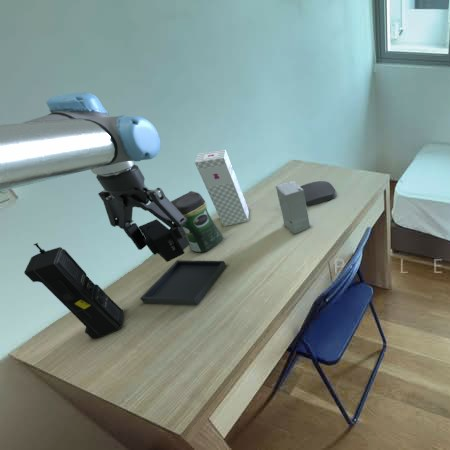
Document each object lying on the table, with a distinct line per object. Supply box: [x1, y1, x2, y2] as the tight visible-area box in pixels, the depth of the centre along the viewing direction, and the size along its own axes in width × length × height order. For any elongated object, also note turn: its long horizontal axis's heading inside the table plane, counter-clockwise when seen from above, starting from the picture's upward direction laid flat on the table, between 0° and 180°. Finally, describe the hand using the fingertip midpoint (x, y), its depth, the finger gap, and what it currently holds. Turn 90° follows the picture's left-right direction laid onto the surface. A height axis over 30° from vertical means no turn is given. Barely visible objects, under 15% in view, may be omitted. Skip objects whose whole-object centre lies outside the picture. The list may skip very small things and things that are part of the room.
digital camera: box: [138, 218, 185, 263], centre depth 79 cm, size 10×5×7 cm, turn 53°
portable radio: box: [24, 242, 124, 340], centre depth 70 cm, size 8×6×25 cm
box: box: [194, 148, 250, 227], centre depth 109 cm, size 8×8×25 cm
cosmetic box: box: [275, 180, 311, 235], centre depth 106 cm, size 8×7×16 cm
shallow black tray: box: [139, 259, 227, 306], centre depth 88 cm, size 15×15×2 cm
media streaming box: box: [299, 180, 337, 206], centre depth 128 cm, size 15×15×3 cm
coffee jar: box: [170, 190, 223, 253], centre depth 98 cm, size 10×8×19 cm
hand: (164, 246), depth 80 cm, fingers closed on digital camera, 11 cm apart
